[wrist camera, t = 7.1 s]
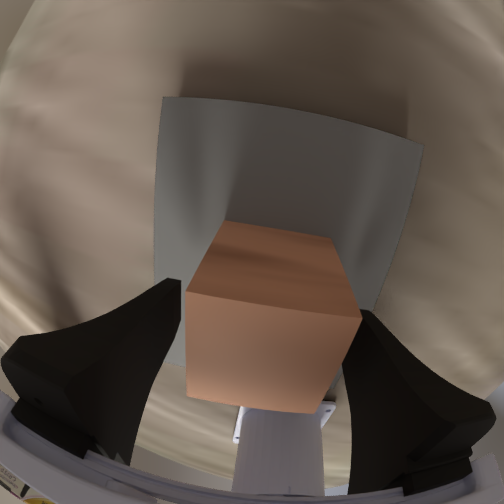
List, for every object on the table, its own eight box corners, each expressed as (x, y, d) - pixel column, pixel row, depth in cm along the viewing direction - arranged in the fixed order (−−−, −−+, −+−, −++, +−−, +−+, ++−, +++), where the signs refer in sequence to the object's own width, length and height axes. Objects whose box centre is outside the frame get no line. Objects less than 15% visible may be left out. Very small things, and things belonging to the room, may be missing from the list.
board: (330, 368, 19) (333, 388, 17) (169, 342, 19) (160, 361, 18) (407, 142, 12) (424, 145, 10) (177, 99, 13) (162, 96, 11)
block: (306, 322, 15) (314, 413, 10) (215, 307, 15) (186, 395, 10) (330, 238, 13) (362, 318, 7) (224, 220, 13) (185, 291, 8)
